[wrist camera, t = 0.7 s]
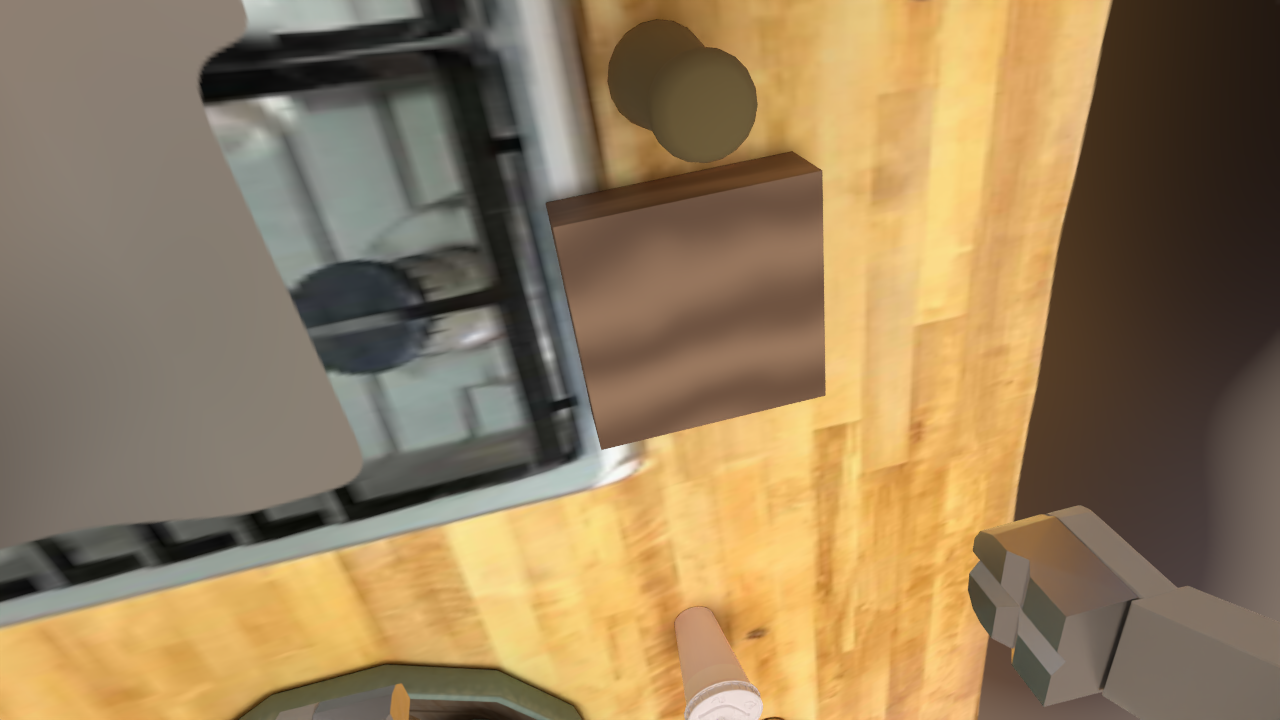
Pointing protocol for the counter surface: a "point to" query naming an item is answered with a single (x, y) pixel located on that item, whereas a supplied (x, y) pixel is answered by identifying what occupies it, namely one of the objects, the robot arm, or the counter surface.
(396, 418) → the counter surface
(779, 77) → the counter surface
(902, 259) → the counter surface
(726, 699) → the smoothie
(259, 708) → the tea set
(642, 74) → the brown tall round piece
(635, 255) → the block
